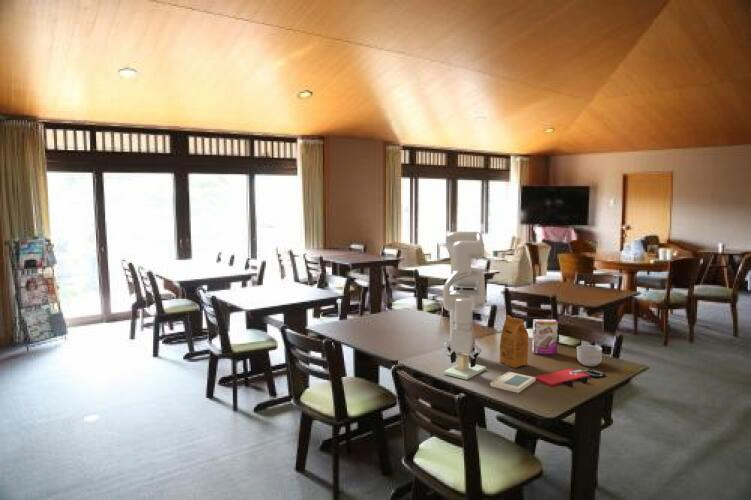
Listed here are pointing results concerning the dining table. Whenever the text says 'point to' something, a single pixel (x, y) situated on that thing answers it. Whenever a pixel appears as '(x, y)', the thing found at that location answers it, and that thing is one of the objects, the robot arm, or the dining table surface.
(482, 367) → the green board with block
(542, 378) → the red board with handle
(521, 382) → the ticket board
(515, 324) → the coffee package
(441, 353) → the dining table surface
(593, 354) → the teacup
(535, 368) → the dining table surface
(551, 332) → the candy bar box
